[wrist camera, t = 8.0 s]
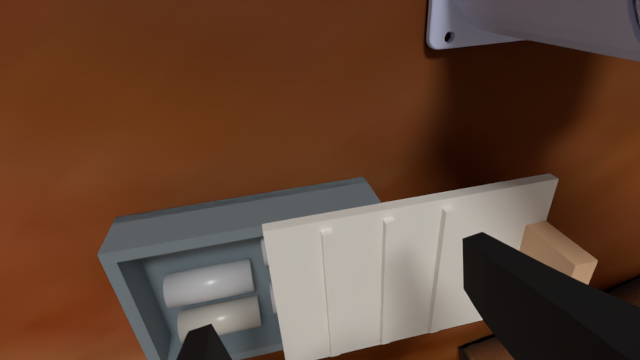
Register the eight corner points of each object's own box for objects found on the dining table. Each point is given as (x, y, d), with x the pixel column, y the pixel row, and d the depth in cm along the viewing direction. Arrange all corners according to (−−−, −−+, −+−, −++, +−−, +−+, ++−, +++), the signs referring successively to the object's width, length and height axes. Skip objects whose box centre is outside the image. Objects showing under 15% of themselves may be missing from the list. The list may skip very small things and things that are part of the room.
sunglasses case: (464, 395, 34) (502, 447, 27) (438, 325, 34) (470, 360, 27) (636, 326, 35) (714, 360, 28) (611, 258, 35) (683, 275, 28)
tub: (363, 176, 20) (382, 204, 18) (364, 292, 24) (379, 327, 22) (115, 217, 18) (97, 254, 16) (165, 335, 22) (156, 379, 20)
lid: (530, 161, 20) (617, 213, 15) (498, 288, 24) (558, 356, 20) (259, 207, 17) (269, 284, 13) (282, 337, 22) (295, 426, 18)
